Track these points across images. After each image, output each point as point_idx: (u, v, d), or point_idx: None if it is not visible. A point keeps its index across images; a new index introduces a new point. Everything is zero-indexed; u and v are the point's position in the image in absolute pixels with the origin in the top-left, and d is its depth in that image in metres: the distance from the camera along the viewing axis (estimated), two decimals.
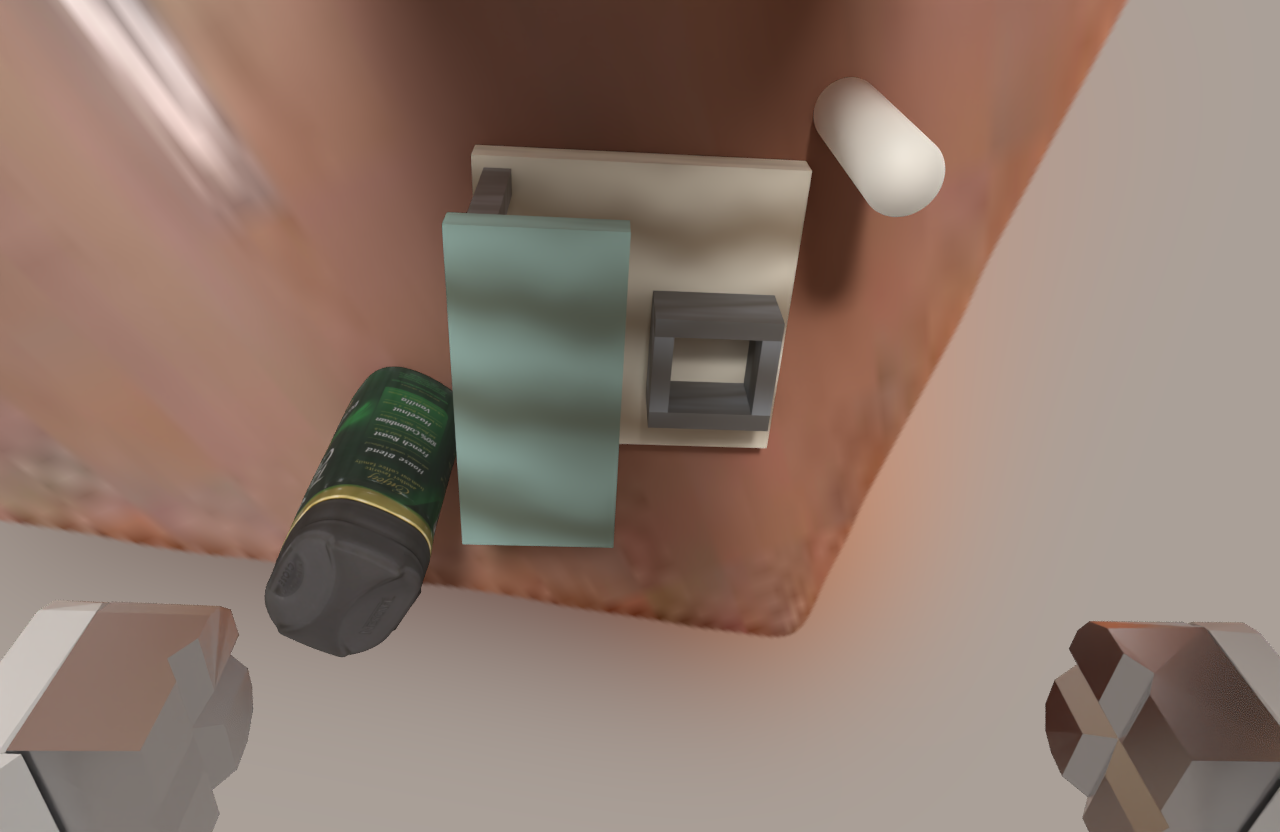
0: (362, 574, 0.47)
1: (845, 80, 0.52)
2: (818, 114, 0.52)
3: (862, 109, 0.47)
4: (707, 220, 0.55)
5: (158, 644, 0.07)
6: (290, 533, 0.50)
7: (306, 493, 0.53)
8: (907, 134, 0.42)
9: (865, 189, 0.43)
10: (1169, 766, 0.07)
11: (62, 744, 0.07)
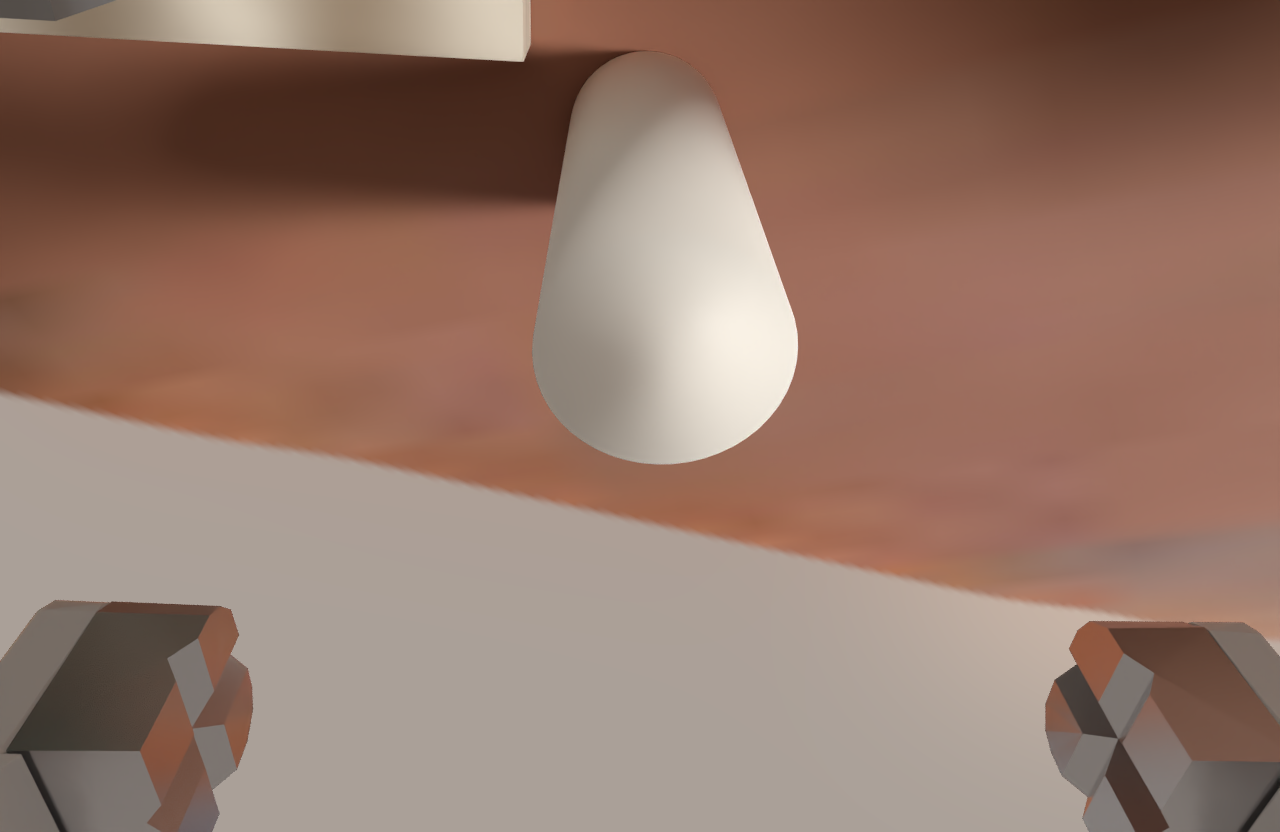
0: None
1: None
2: (656, 62, 0.21)
3: (744, 177, 0.18)
4: None
5: (158, 644, 0.07)
6: None
7: None
8: (795, 345, 0.14)
9: (625, 249, 0.13)
10: (1169, 766, 0.07)
11: (62, 744, 0.07)
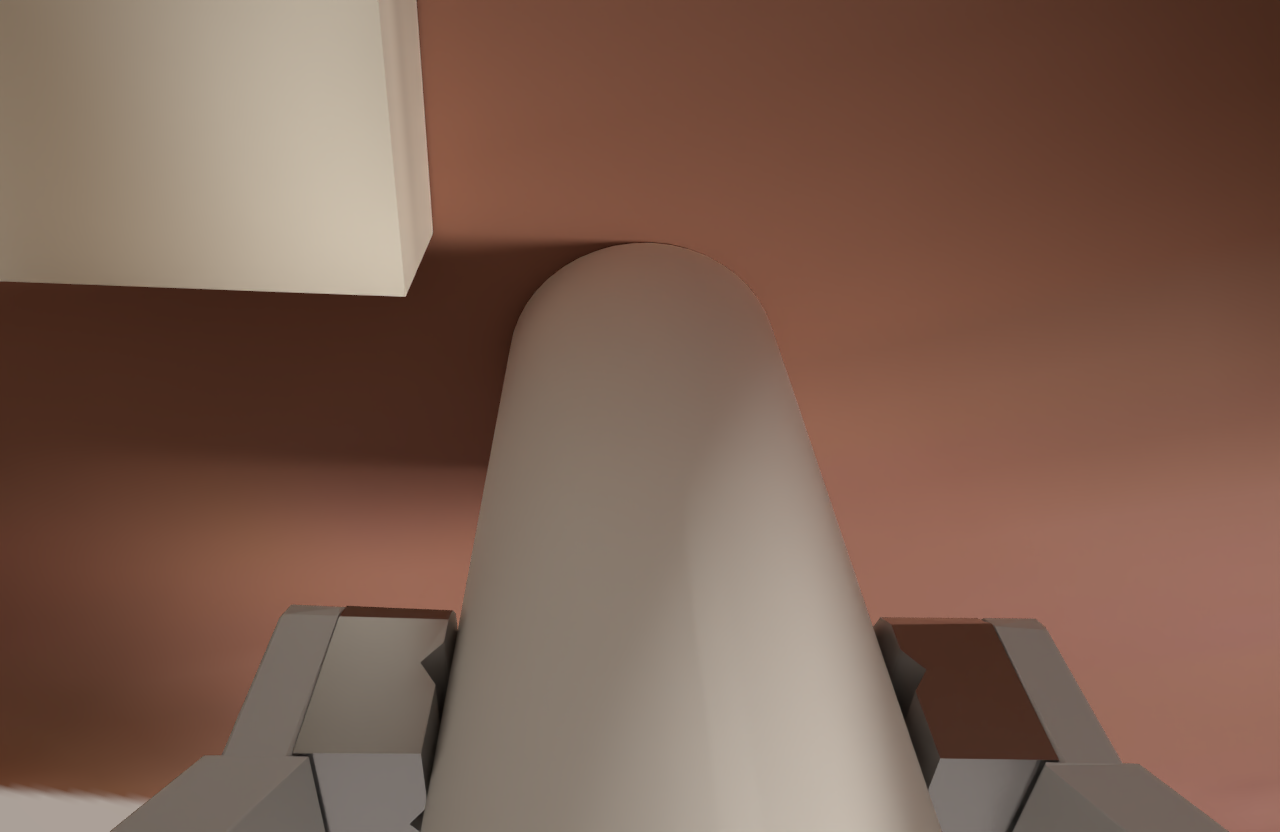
0: None
1: None
2: (663, 282, 0.11)
3: (880, 649, 0.08)
4: None
5: (408, 648, 0.08)
6: None
7: None
8: None
9: None
10: (926, 764, 0.07)
11: (343, 747, 0.07)
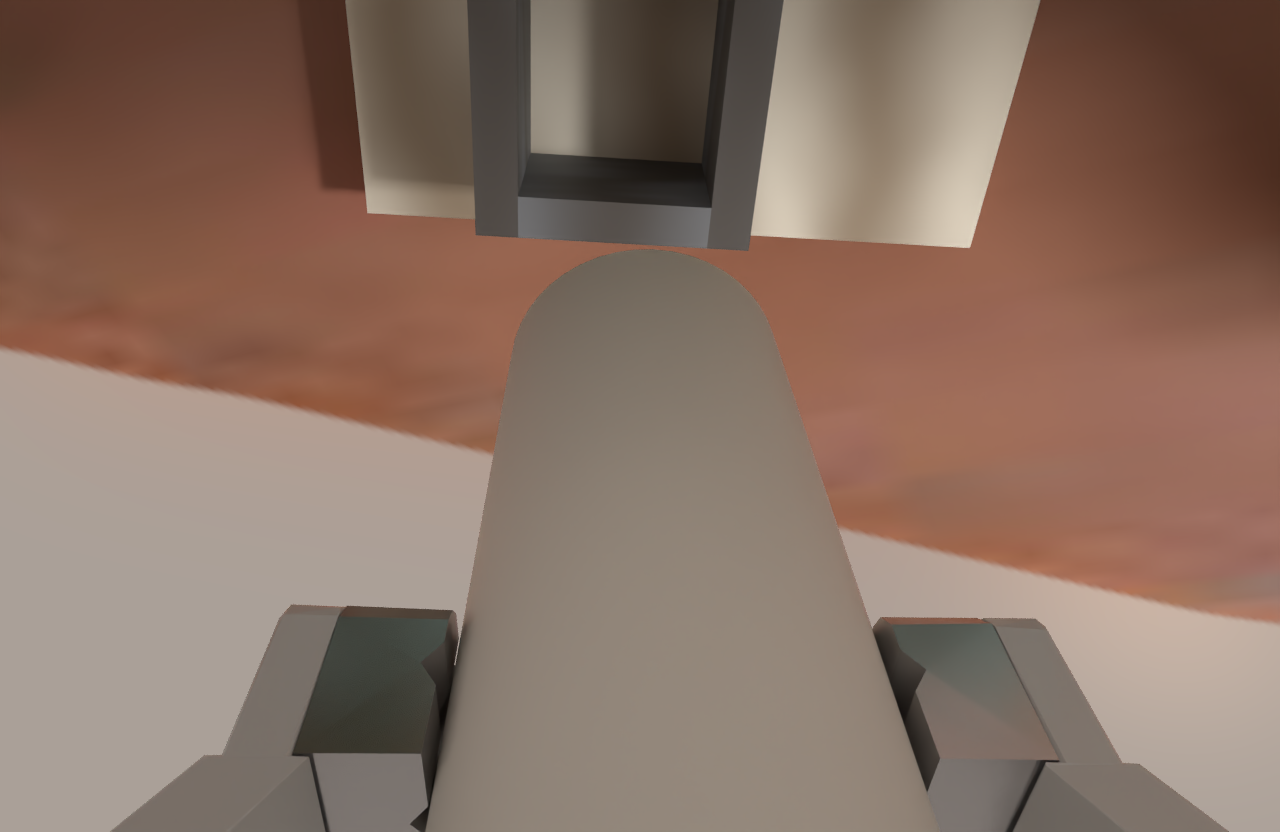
0: None
1: None
2: (665, 289, 0.11)
3: (880, 658, 0.08)
4: (913, 56, 0.27)
5: (407, 648, 0.08)
6: None
7: None
8: None
9: None
10: (926, 764, 0.07)
11: (343, 747, 0.07)
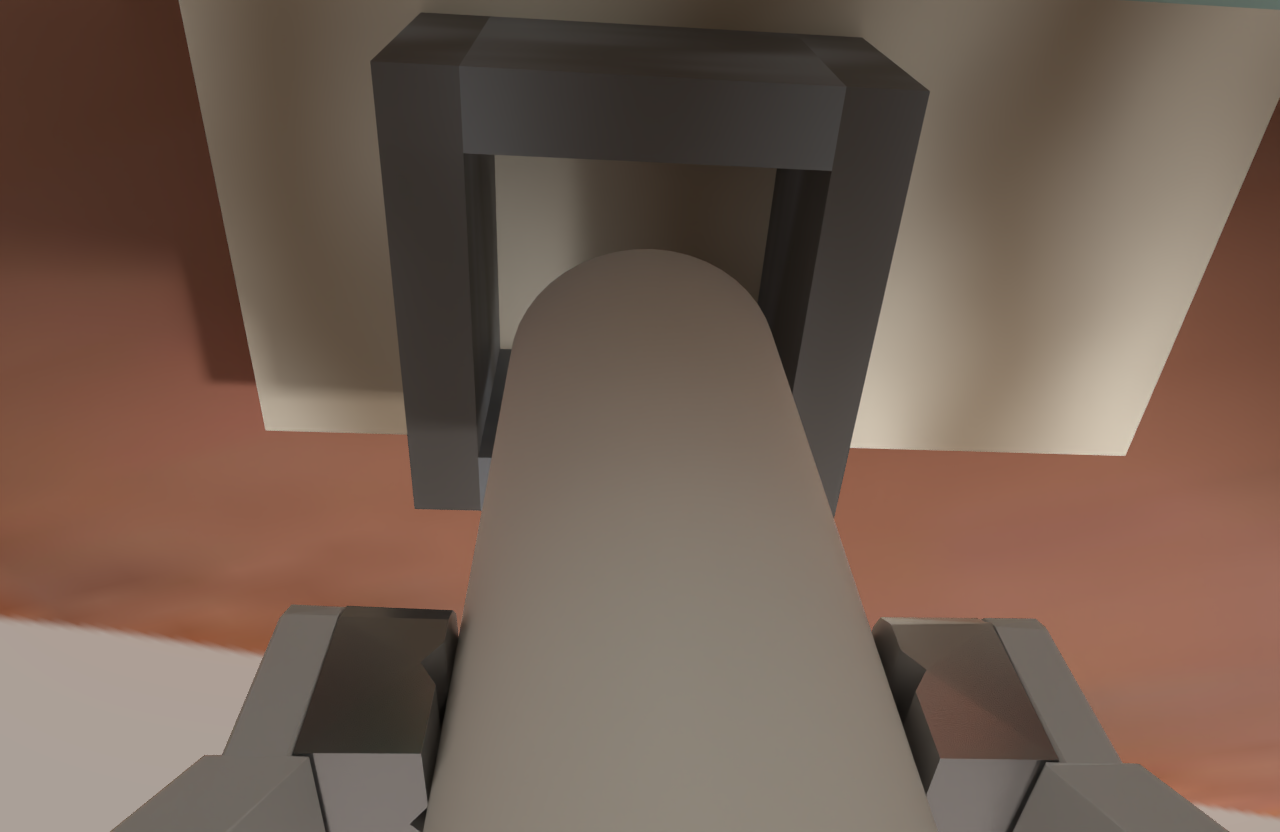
0: None
1: None
2: (663, 288, 0.11)
3: (877, 657, 0.08)
4: (1068, 211, 0.18)
5: (407, 648, 0.08)
6: None
7: None
8: None
9: None
10: (926, 764, 0.07)
11: (343, 747, 0.07)
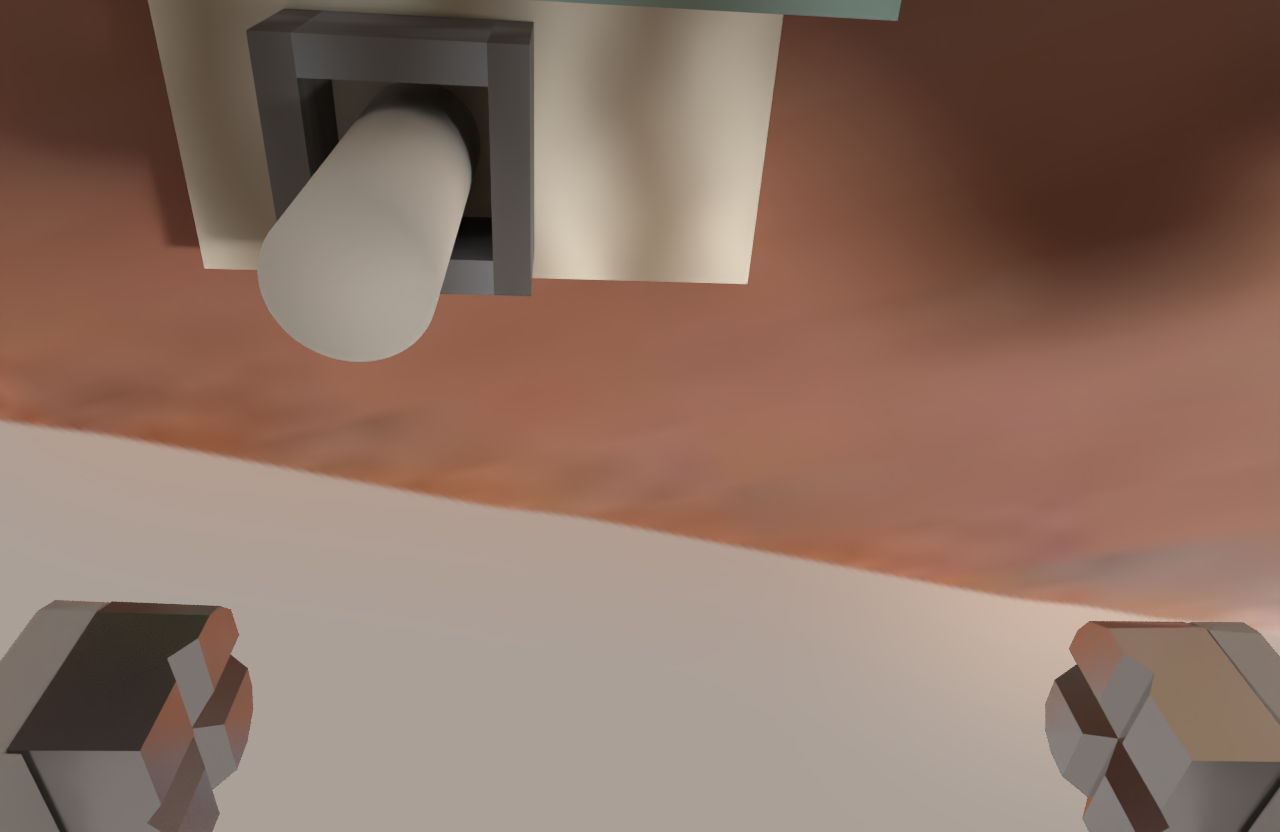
0: None
1: (475, 130, 0.30)
2: (414, 89, 0.29)
3: (450, 171, 0.25)
4: (673, 123, 0.31)
5: (159, 644, 0.07)
6: None
7: None
8: (437, 276, 0.21)
9: (308, 212, 0.20)
10: (1169, 766, 0.07)
11: (62, 744, 0.07)
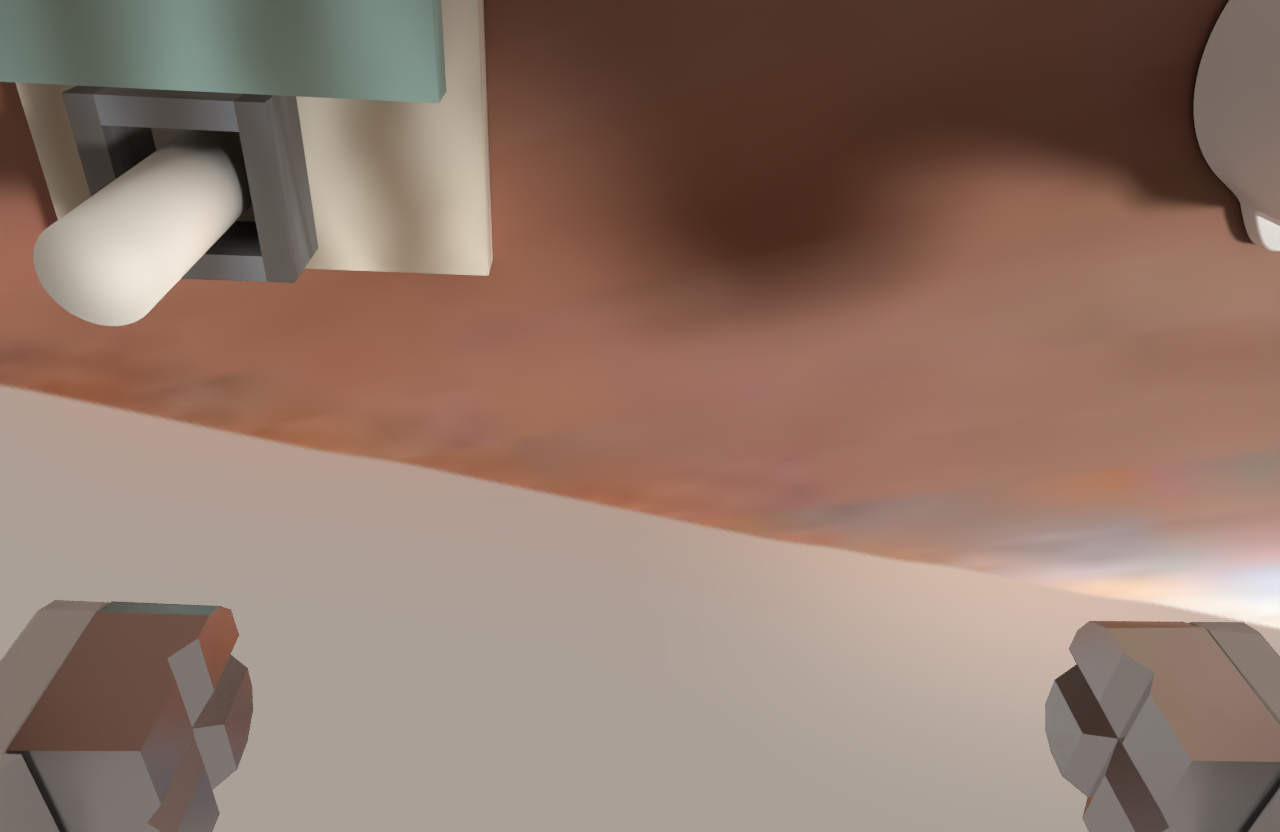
0: None
1: None
2: None
3: (202, 194, 0.35)
4: (410, 153, 0.41)
5: (159, 645, 0.07)
6: None
7: None
8: (155, 269, 0.31)
9: (60, 226, 0.30)
10: (1169, 766, 0.07)
11: (63, 745, 0.07)
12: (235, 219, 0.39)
